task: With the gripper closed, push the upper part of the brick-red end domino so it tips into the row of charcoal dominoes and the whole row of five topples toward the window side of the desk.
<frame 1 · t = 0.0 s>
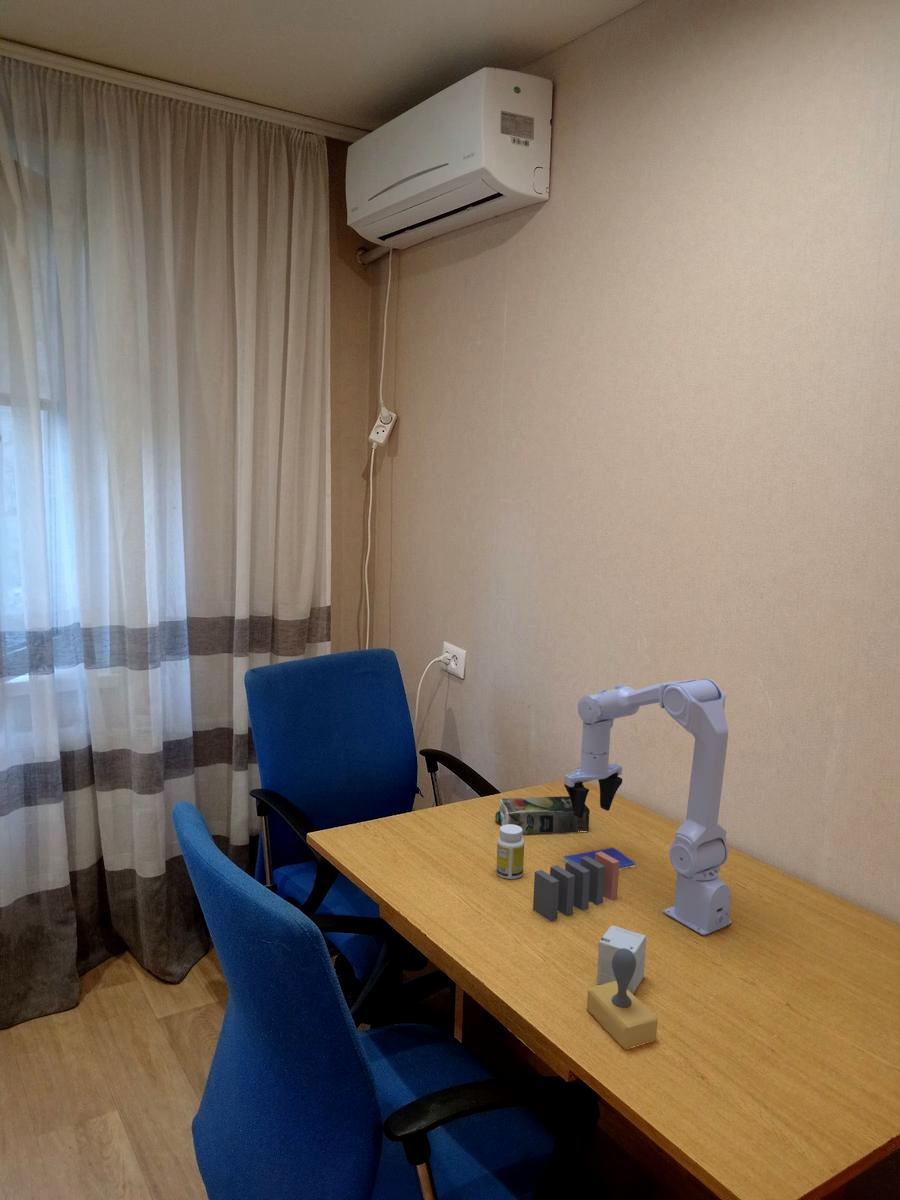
hand: (591, 812, 177), 10 cm above the table, tool pointing down, fingers open, 7 cm apart
juice carton: (541, 827, 194), on the table
hard drive: (598, 867, 176), on the table
domino 5: (544, 914, 155), on the table
domino 1: (604, 893, 163), on the table
rubber stamp: (620, 1026, 125), on the table
skincare box: (620, 981, 136), on the table
supplement bottle: (509, 874, 171), on the table
domino 2: (590, 898, 161), on the table
domino 3: (575, 903, 159), on the table
domino 4: (560, 909, 157), on the table
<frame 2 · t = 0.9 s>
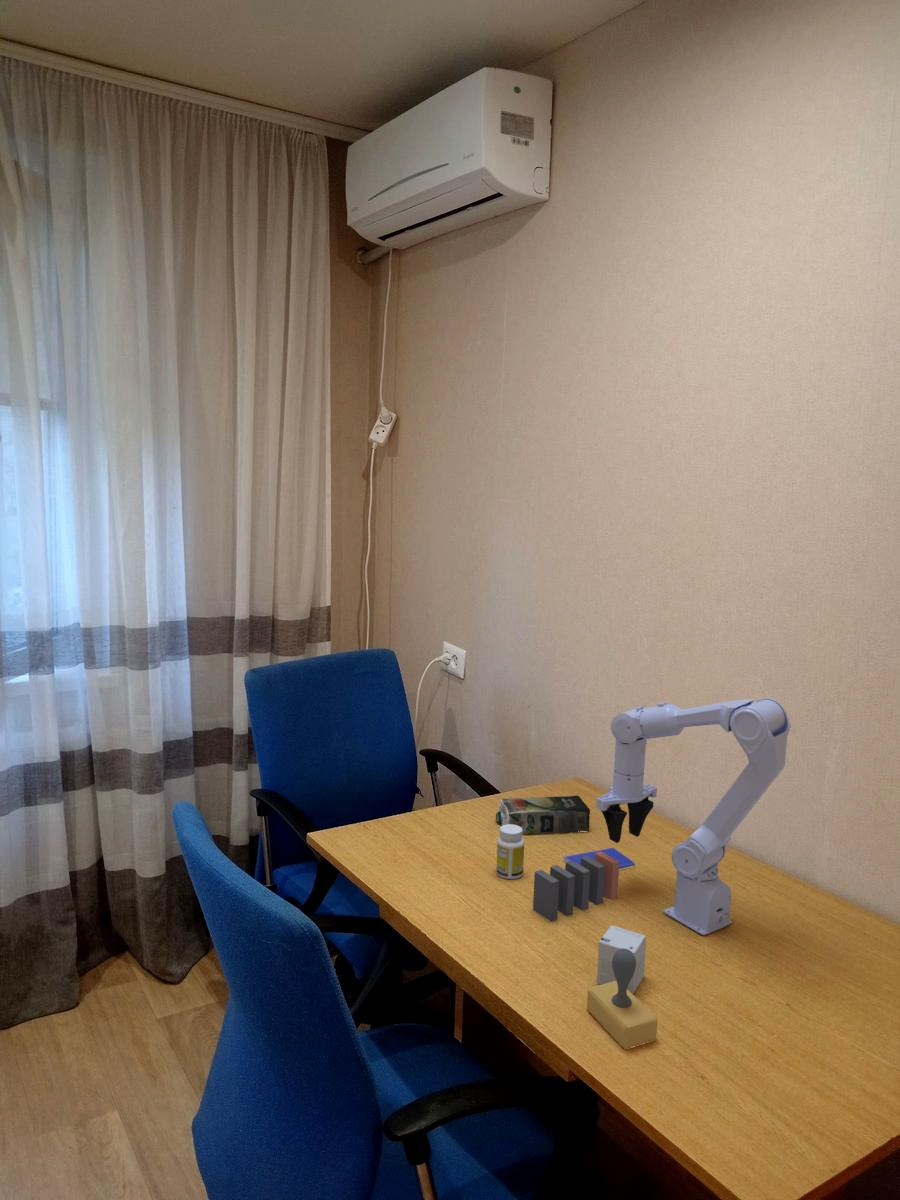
hand: (624, 837, 164), 10 cm above the table, tool pointing down, fingers open, 5 cm apart
nothing on the table moved.
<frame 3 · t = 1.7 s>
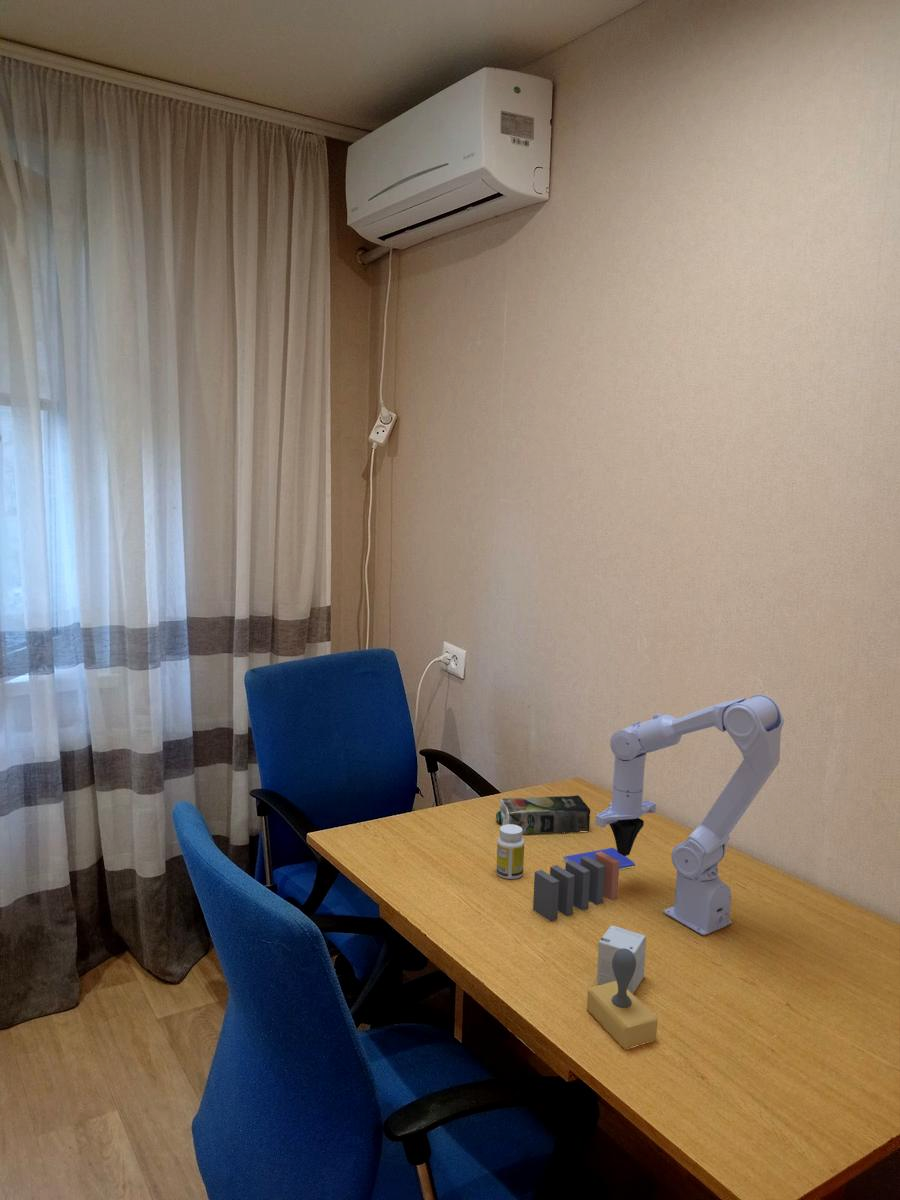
hand: (623, 853, 165), 7 cm above the table, tool pointing down, fingers closed
nothing on the table moved.
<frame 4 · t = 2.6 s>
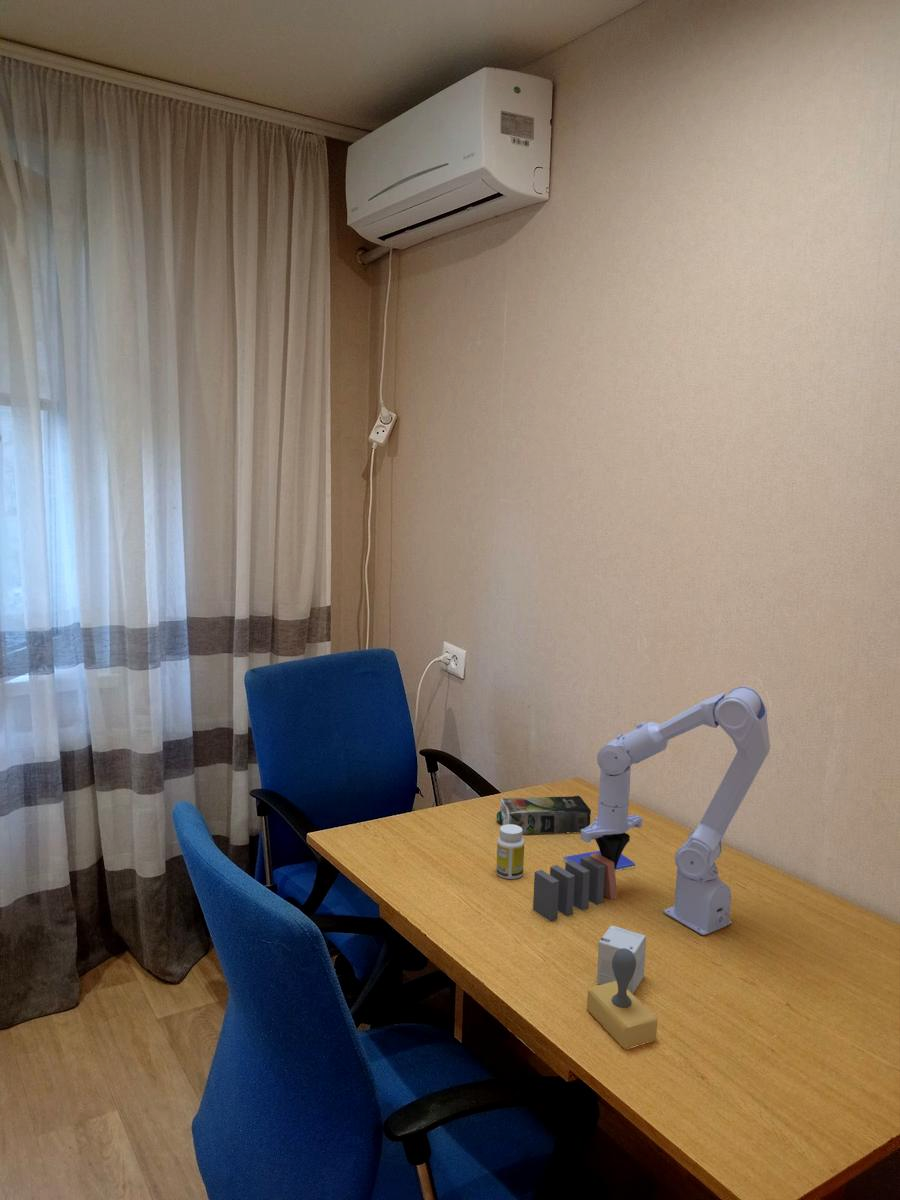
hand: (609, 868, 163), 5 cm above the table, tool pointing down, fingers closed
domino 1: (604, 892, 163), on the table, tilted 11°
everything else where it was.
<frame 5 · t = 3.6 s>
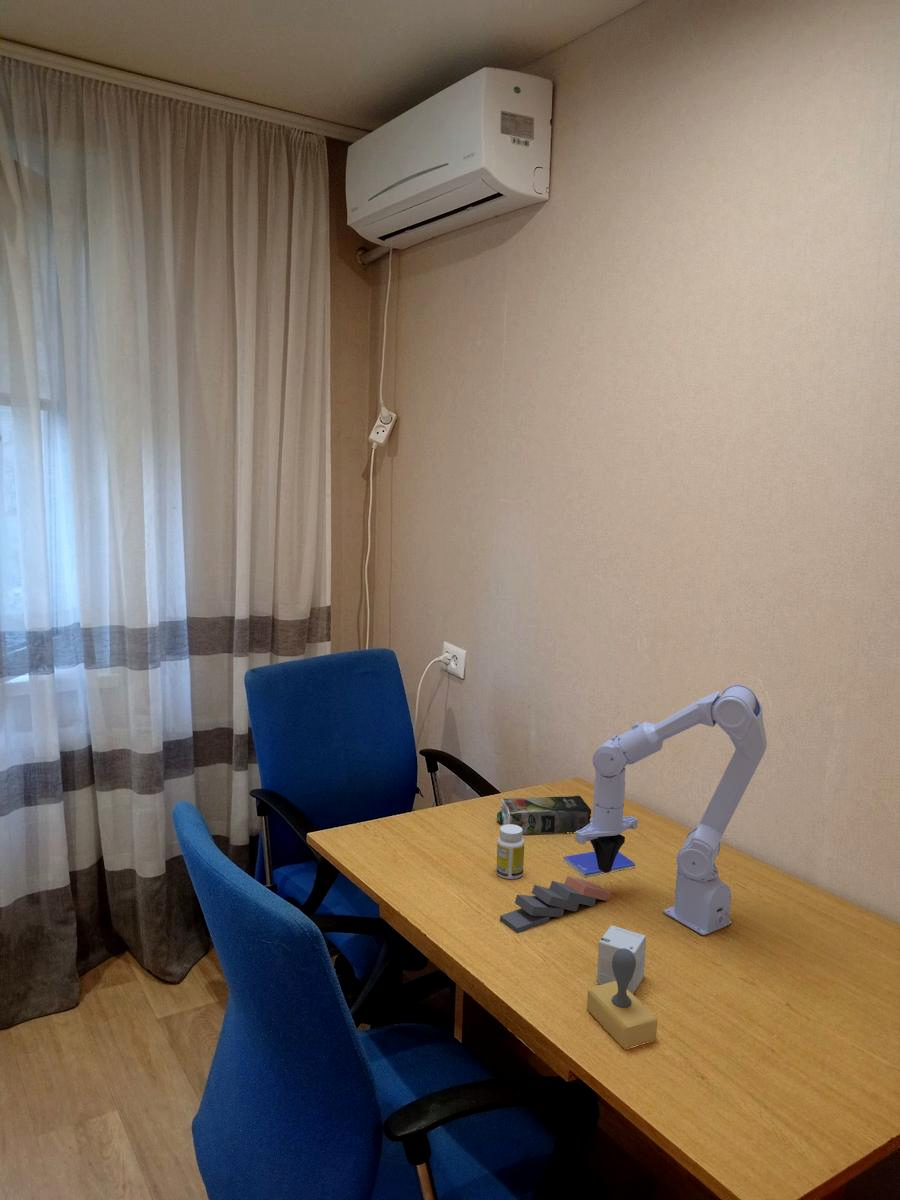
hand: (604, 870, 162), 5 cm above the table, tool pointing down, fingers closed
domino 5: (540, 914, 155), on the table, tilted 90°
domino 1: (600, 891, 163), point 1 cm above the table, tilted 65°, touching domino 2
domino 2: (585, 896, 160), point 1 cm above the table, tilted 65°, touching domino 1
domino 3: (568, 901, 158), point 1 cm above the table, tilted 65°, touching domino 4
domino 4: (554, 906, 156), point 1 cm above the table, tilted 72°, touching domino 3
everything else where it was.
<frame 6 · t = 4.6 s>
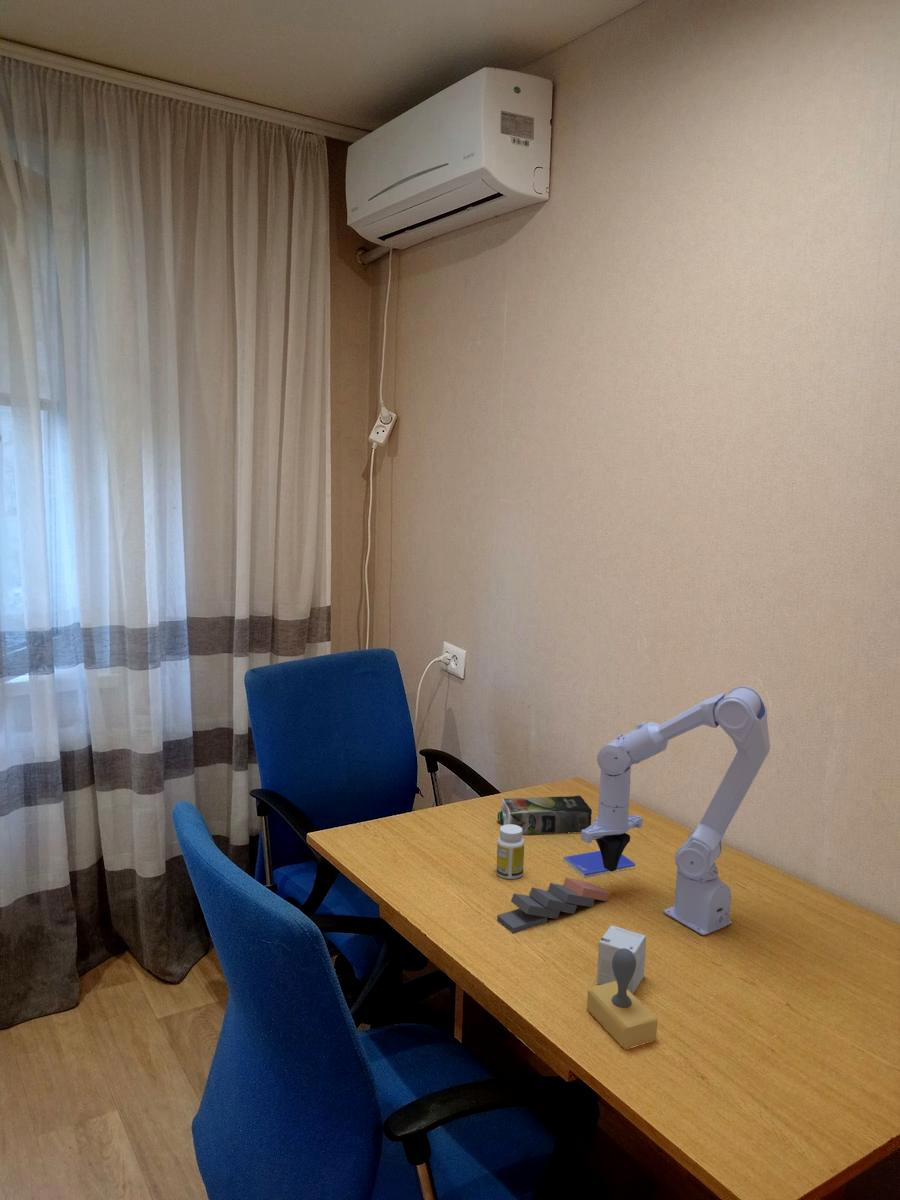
hand: (610, 868, 163), 5 cm above the table, tool pointing down, fingers closed
domino 5: (538, 915, 154), on the table, tilted 90°, touching domino 4
domino 2: (584, 897, 160), point 1 cm above the table, tilted 67°, touching domino 1, domino 3
domino 3: (566, 903, 158), point 1 cm above the table, tilted 65°, touching domino 2, domino 4
domino 4: (550, 908, 156), point 1 cm above the table, tilted 68°, touching domino 3, domino 5
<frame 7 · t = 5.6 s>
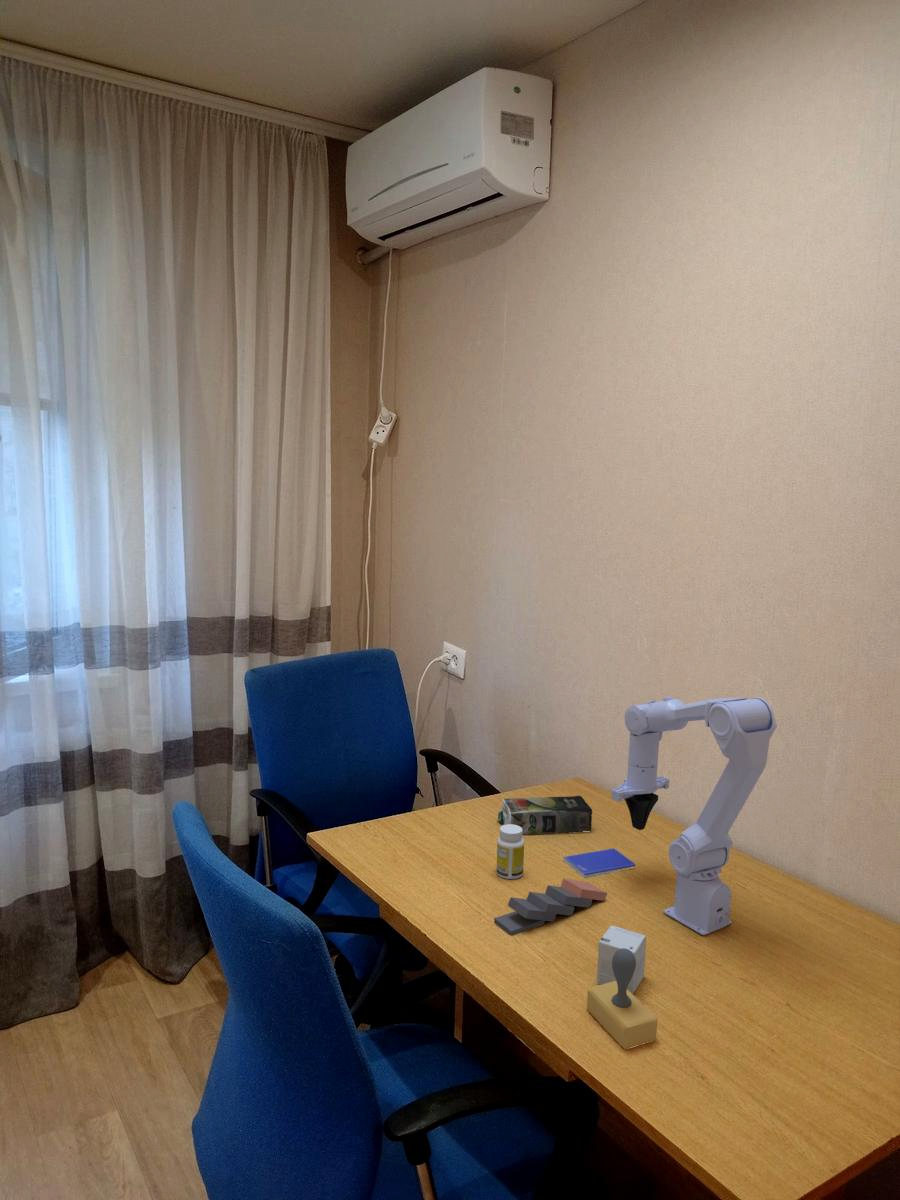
hand: (638, 827, 169), 10 cm above the table, tool pointing down, fingers closed
domino 5: (535, 917, 154), on the table, tilted 90°
domino 3: (563, 905, 157), point 1 cm above the table, tilted 68°, touching domino 2, domino 4
domino 4: (545, 911, 155), point 1 cm above the table, tilted 68°, touching domino 3
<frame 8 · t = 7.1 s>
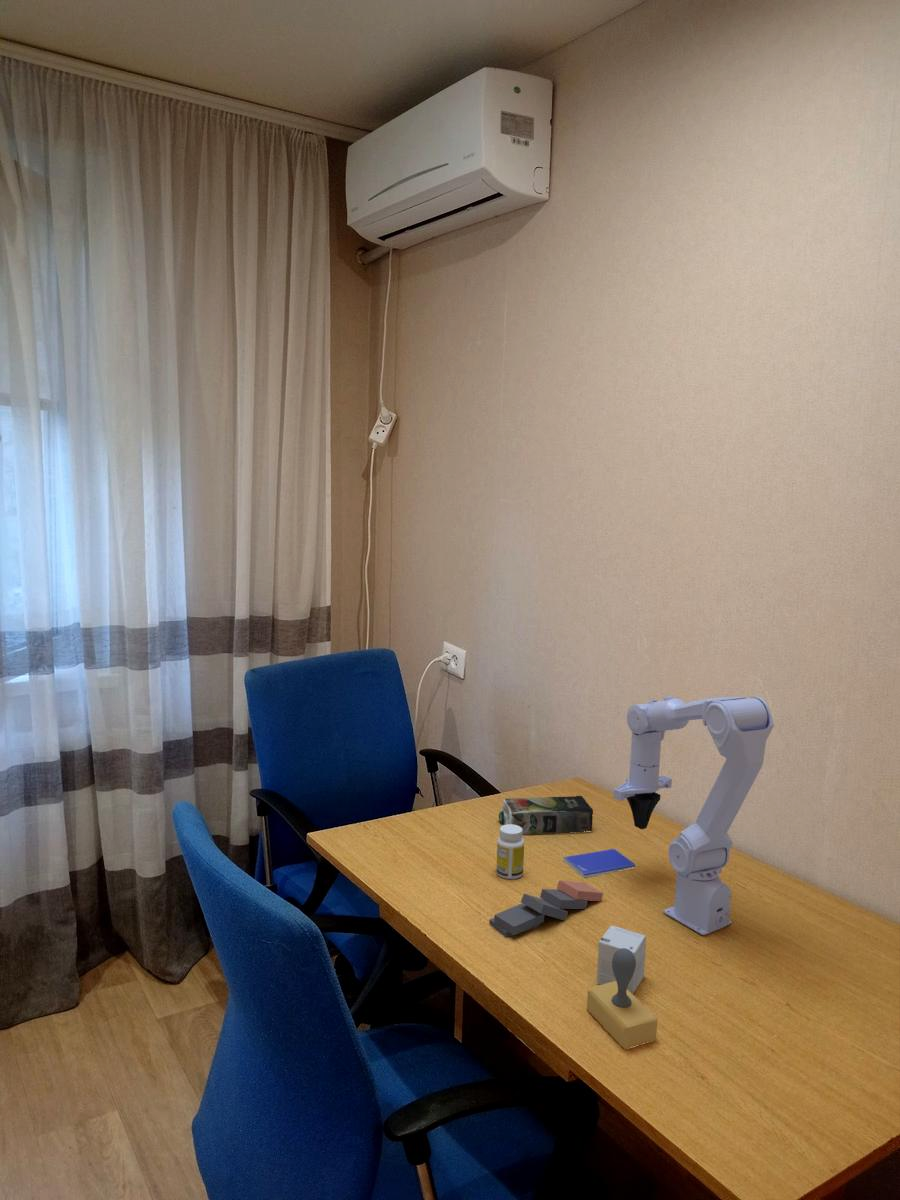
hand: (640, 827, 170), 10 cm above the table, tool pointing down, fingers closed
domino 5: (531, 919, 153), on the table, tilted 90°, touching domino 4
domino 2: (576, 899, 159), point 1 cm above the table, tilted 72°, touching domino 1, domino 3
domino 3: (556, 910, 155), point 1 cm above the table, tilted 61°, touching domino 2, domino 4
domino 4: (534, 911, 153), point 2 cm above the table, tilted 90°, touching domino 3, domino 5
at the end: domino 5 tilted 90°; domino 1 tilted 70° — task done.
